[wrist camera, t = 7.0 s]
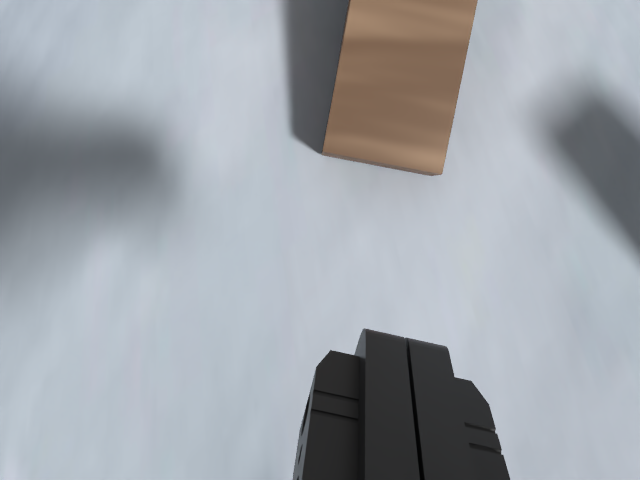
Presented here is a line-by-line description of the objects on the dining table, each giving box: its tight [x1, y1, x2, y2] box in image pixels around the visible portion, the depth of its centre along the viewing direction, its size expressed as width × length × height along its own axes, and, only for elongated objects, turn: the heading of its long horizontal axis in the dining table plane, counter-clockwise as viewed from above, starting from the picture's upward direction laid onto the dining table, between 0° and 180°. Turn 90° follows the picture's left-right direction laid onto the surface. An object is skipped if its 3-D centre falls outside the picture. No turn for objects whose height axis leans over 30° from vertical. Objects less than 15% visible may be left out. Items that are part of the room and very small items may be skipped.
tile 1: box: [322, 0, 478, 176], centre depth 23 cm, size 2×5×10 cm
